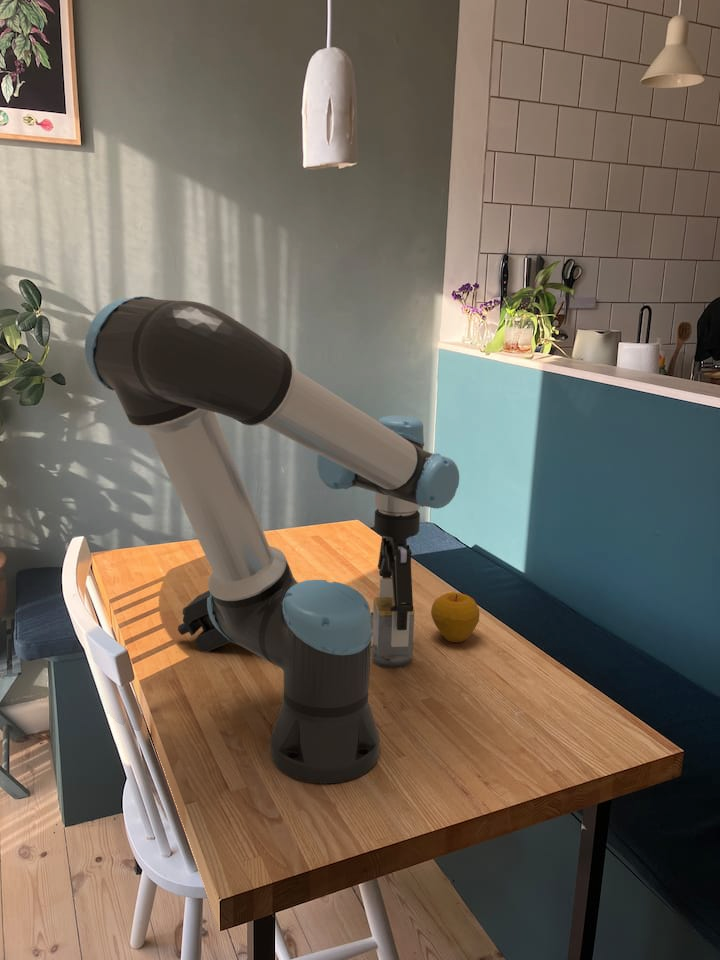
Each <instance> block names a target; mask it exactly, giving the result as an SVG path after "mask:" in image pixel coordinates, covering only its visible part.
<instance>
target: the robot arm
mask: <svg viewBox="0 0 720 960" xmlns="http://www.w3.org/2000/svg"><path fill="white" fill-rule="evenodd" d="M84 353H85V354H84V355H85V360H86V363H87V364H86V365H87V366H88V368H89V370H90V372H91V374H92V375H93V377H94V378H95V380H96V379H97V381H98V382H99V383H101V385H103V386H104V388H107V389H108V390H109V391H114V392H115V394H116V396H117V398H118V401H119V403H120V405H121V406H122V407H121V408H122V409H123V411H124V413H125V415H126V417H127V418H128V421H129V423H130V424H131V425H132V426H134V427H136V428H139V429H142V430H145V431H147V432H148V435H149V437H150V439H151V440H152V442H153V445H154V448H155V450H156V451H157V453H158V456H159V458H160V460H161V461H162V465H163V467H164V469H165V470H166V473H167V476H168V477H169V480H170V482H171V484H172V485H173V487H174V490H175V493H176V495H177V497H178V499H179V502H180V503H181V506H182V508H183V510H184V512H185V514H186V516H187V518H188V521H189V523H190V525H191V526H192V529H193V531H194V534H195V535H196V538H197V540H198V542H199V544H200V546H201V548H202V551H203V553H204V556H205V557H206V559H207V562H208V564H209V566H210V568H211V570H212V571H211V573H210V575H209V577H208V582H207V586H208V587H207V588H208V591H209V592H210V597H208V598H207V609H208V613H209V617H210V619H211V621H212V623H213V625H214V626H215V628H216V629H217V630H218V631H219V632H220V633H222V634H223V635H224V636H225V637H226V638H227V639H228V640H230V641H232V642H231V643H232V644H236V645H238V646H239V647H242V648H244V649H245V650H248V651H249V652H251V653H253V654H255V655H256V656H259V657H260V658H262V659H264V660H266V661H267V662H269V663H271V664H273V665H274V666H276V667H278V668H279V669H281V670H282V672H283V698H282V699H283V700H282V703H281V706H280V709H279V712H278V715H277V718H276V720H275V723H274V726H273V729H272V732H271V735H270V758H271V761H272V762H273V764H274V765H275V766H276V768H277V769H279V771H281V772H282V773H283V774H286V775H287V776H289V777H290V778H294V779H297V780H299V781H303V782H307V783H314V784H335V783H336V784H337V783H342V782H347V781H351V780H353V779H356V778H359V777H361V776H363V775H364V774H365V775H366V773H368V772H369V771H370V770H371V769H373V767H374V766H375V765H376V763H377V761H379V757H380V735H379V730H378V728H377V723H376V722H375V719H374V715H373V712H372V709H371V705H370V702H369V689H370V687H369V686H370V670H371V669H370V668H371V652H372V637H373V629H372V625H371V618H370V616H371V608H370V604H369V603H368V601H367V599H366V598H365V597H364V596H363V595H362V594H361V593H360V592H359V591H358V590H356V589H355V588H353V587H351V586H349V585H346V584H344V583H342V582H339V581H338V582H337V581H332V582H331V581H327V579H308V580H303V581H300V582H298V581H297V580H296V579H295V577H294V575H293V573H292V570H291V568H290V566H289V563H288V560H287V558H286V555H285V554H284V552H283V550H280V549H279V548H277V547H275V546H270V545H269V542H268V539H267V538H266V534H265V532H264V530H263V527H262V526H261V525H262V524H261V523H260V520H259V517H258V515H257V513H256V510H255V507H254V506H253V502H252V500H251V498H250V496H249V493H248V491H247V488H246V485H245V484H244V480H243V478H242V476H241V473H240V471H239V468H238V466H237V464H236V461H235V459H234V456H233V454H232V451H231V449H230V446H229V444H228V442H227V441H228V440H226V439H227V438H226V436H225V434H224V432H223V430H222V427H221V424H220V421H219V420H218V416H217V414H219V415H222V416H226V417H229V418H231V419H233V420H235V421H237V422H239V423H240V424H243V425H245V426H250V427H253V426H258V425H263V426H266V427H267V428H269V429H271V430H273V431H274V432H277V433H278V434H281V435H283V436H284V437H286V438H287V439H290V440H292V441H294V442H296V443H298V444H299V445H301V446H303V447H305V448H307V449H309V450H310V451H313V452H315V453H316V454H317V457H316V463H317V465H316V468H317V474H318V476H319V478H320V480H321V481H322V482H323V484H324V485H325V486H326V487H328V488H329V489H332V490H341V489H344V490H349V489H350V488H353V487H354V488H355V487H356V488H360V489H363V490H367V491H370V492H374V508H376V510H374V519H373V520H374V524H373V529H374V531H375V533H376V534H377V535H379V536H381V542H380V547H379V548H380V549H379V555H378V564H377V569H378V570H379V572H378V573H379V574H378V575H379V585H378V588H379V589H378V591H379V592H378V597H394V606H391V608H390V611H393V613H392V637H391V646H392V647H404V646H408V640H409V618H410V612H412V611H413V608H414V601H413V599H414V597H413V580H412V579H413V578H412V575H413V574H412V554H413V552H412V550H411V549H410V545H409V544H407V539H409V538H411V537H412V538H413V537H414V536H417V535H418V533H419V532H420V525H421V524H420V521H421V520H420V519H421V518H420V517H421V512H419V510H420V508H421V507H428V508H431V509H432V508H433V509H441V508H444V507H446V506H447V505H449V504H450V503H451V502H452V500H453V499H454V498H455V496H456V493H457V489H458V488H459V486H460V485H459V484H460V472H459V468H458V465H457V464H456V462H455V461H454V460H453V459H451V457H450V458H449V457H447V456H444V455H441V454H440V453H438V452H435V453H433V452H429V451H426V450H425V449H424V446H425V443H424V423H423V421H422V420H421V419H419V418H417V417H414V416H407V415H386V416H383V417H381V418H379V419H378V420H376V419H375V418H374V417H371V416H370V415H368V414H367V413H365V412H363V411H362V410H360V409H359V408H357V407H356V406H354V405H352V404H351V403H349V402H348V401H347V400H345V399H343V398H342V397H340V396H339V395H337V394H335V393H333V392H332V391H331V390H329V389H327V388H326V387H324V386H323V385H321V384H319V383H318V382H316V381H314V380H313V379H312V378H310V377H309V376H307V375H306V374H304V373H302V372H301V371H299V370H297V369H296V368H295V367H294V363H293V360H292V357H290V355H289V354H288V353H287V352H286V351H283V349H281V348H280V347H278V346H276V345H275V344H273V343H271V342H270V341H268V340H267V339H266V338H264V337H263V336H261V335H260V334H258V333H256V332H255V331H253V330H252V329H250V328H249V327H247V326H246V325H244V323H243V324H242V323H241V322H239V321H238V320H236V319H235V318H233V317H232V316H230V315H228V314H227V313H225V312H223V311H221V310H219V309H216V308H215V307H213V306H210V305H208V304H204V303H201V302H197V301H189V300H171V299H170V300H169V299H156V298H153V297H150V296H144V295H143V296H141V295H140V296H134V297H126V298H121V299H118V300H114V301H113V302H110V303H108V304H107V305H105V306H104V307H103V308H102V309H100V311H98V312H97V314H96V315H95V316H94V318H93V320H92V321H91V322H90V325H89V328H88V331H87V333H86V336H85V341H84ZM414 609H415V608H414Z"/></svg>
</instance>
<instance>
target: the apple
mask: <svg viewBox="0 0 720 960" xmlns="http://www.w3.org/2000/svg"><path fill="white" fill-rule="evenodd" d="M430 615H431V618H432V621H433V623H434V624H435V627H436V628H437V629H438V631H439V633H440V634H441V636H443V637H444V639H445V640H447V641H449V642H451V643H462V642H464V641H466V640H467V639H468V638H469V637H470V636H471V635H472V633H473V632H474V631H475V629H476V627H477V625H478V624H479V621H480V609H479V607H478V603H477V602H476V600H475V599H474V598H472V597H470V596H469V595H467V594H464V593H460V592H455V591H453V592H452V591H451V592H445V593H443V594H442V595H440V596H439V597H437V598H436V599H435V600H434V601H433V604H432V607H431V609H430Z"/></svg>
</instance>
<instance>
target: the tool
mask: <svg viewBox="0 0 720 960" xmlns="http://www.w3.org/2000/svg"><path fill="white" fill-rule="evenodd" d="M208 597H210V592H209V590H207V591H205V592H203V593H201V594H199V595H197V596H196V597H195V598H194V599H193V600H192V601H191V602H190V603H188V605H186V606H184V607H183V608H182V615H183V618H182V622H183V623H181V624H179V625H178V627H177V631H178V632H179V634H180V635H184V634H188V633H189V634H190V636H191V637H192V636H194V635H195V634H196V633H197V632H198V631H199V630H200V629H202V631H201V632H200V633H199V634H198V635H197V637H196V638H195V639H194V643H195V644H196V646H197V648H198V649H199V650H200V651H201V652H204V653H207V652H210V651H211V650H214V649H217V648H219V647H222V646H224V645H226V644H227V645H228V644H229V643H233V642H232V641H230V640H228V639H227V638H226V637H225V636H224V635H223V634H222V633H220V632H219V631H218V630H217V629H216V628H215V626H214V625H213V623H212V621H211V619H210V617H209V613H208V609H207V598H208Z"/></svg>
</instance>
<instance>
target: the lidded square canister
mask: <svg viewBox="0 0 720 960" xmlns="http://www.w3.org/2000/svg"><path fill="white" fill-rule="evenodd" d="M391 606H394V597H379V596H378V597H373V606H372V607H373V629H372V637H371V643H372V645H374V648H375V651H376V654H377V657H382V656H410V655H412V656H413V652H414V650H413V649H414V631H415V628H414V627H415V608H413V611H412V612H410V618H409V640H408V646H404V647H392V646H391V637H392V613H393V611H390V608H391Z"/></svg>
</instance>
